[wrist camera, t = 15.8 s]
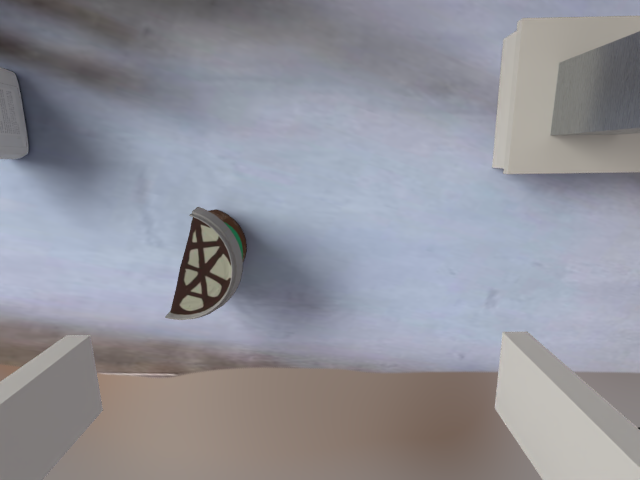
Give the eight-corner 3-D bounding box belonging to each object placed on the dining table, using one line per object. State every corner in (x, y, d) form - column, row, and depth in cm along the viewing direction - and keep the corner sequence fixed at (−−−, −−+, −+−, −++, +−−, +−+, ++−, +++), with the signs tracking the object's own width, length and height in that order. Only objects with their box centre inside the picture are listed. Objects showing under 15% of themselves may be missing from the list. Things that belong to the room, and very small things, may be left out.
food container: (242, 301, 49) (221, 338, 39) (196, 288, 48) (163, 322, 38) (267, 213, 46) (252, 228, 36) (219, 197, 46) (190, 209, 36)
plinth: (499, 34, 41) (522, 18, 36) (636, 31, 41) (678, 14, 36) (487, 172, 44) (507, 174, 40) (614, 170, 44) (650, 172, 39)
